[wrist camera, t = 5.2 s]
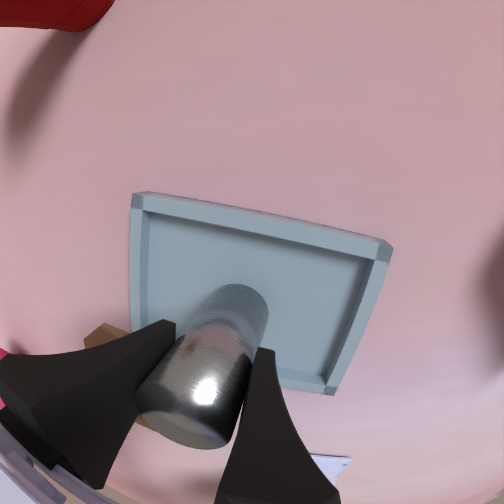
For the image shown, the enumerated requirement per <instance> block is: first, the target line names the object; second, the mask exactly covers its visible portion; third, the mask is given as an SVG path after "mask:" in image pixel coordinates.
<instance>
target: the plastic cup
mask: <svg viewBox="0 0 504 504" xmlns="http://www.w3.org/2000/svg"><path fill="white" fill-rule="evenodd" d="M113 2H114V0H0V27H25V28H38V29H56V30H63V31H69V32H72V31H75V32H78V31H82V30H85V29H86V28H88V27H89V26H91V25H93V24H94V23H95V22H96V21H97V20H98V19H100V18H101V17H102V16H103V15H104V14H105V13H106V11H107V10H108V9H109V8H110V6H111V5H112V4H113Z"/></svg>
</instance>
